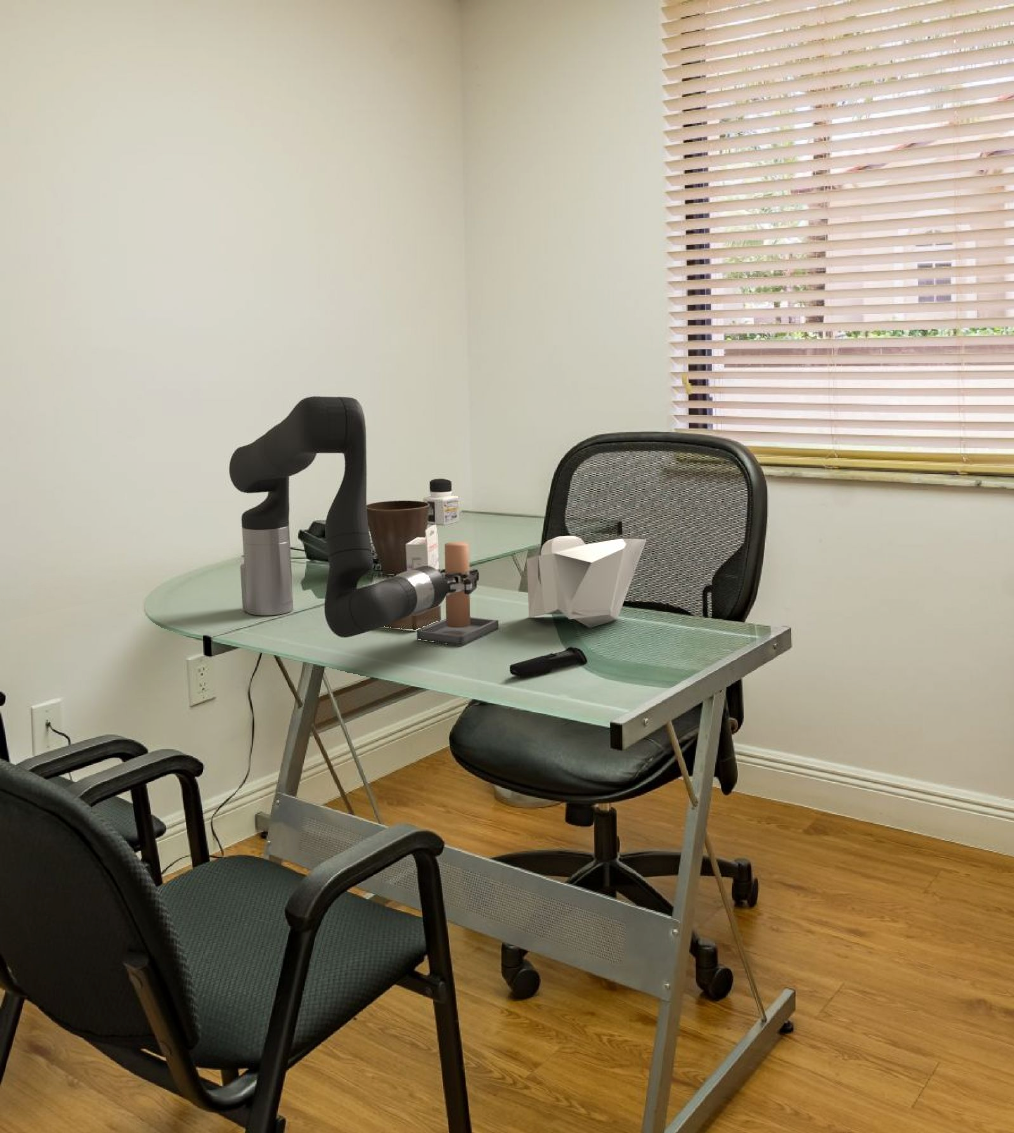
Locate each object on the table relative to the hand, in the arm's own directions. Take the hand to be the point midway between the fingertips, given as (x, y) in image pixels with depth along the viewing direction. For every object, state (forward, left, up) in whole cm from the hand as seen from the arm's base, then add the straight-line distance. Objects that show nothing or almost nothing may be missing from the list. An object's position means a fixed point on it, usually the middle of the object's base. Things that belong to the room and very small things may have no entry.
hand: (464, 573), depth 210 cm
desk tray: (0, -3, -11) cm, 11 cm away
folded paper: (+18, +17, -11) cm, 27 cm away
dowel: (0, -3, -9) cm, 9 cm away
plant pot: (-42, +41, -11) cm, 59 cm away
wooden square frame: (-13, 0, -11) cm, 17 cm away
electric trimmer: (+25, -16, -11) cm, 32 cm away
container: (-72, +109, -11) cm, 131 cm away
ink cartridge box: (-24, +23, -11) cm, 35 cm away
